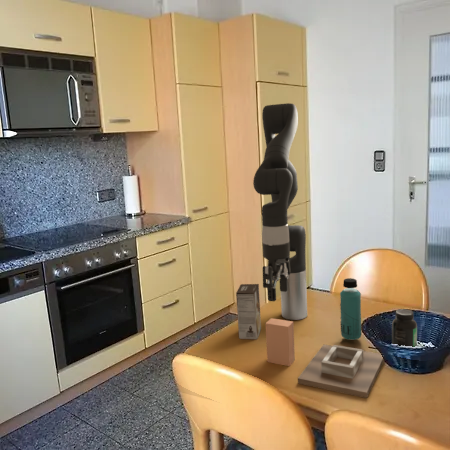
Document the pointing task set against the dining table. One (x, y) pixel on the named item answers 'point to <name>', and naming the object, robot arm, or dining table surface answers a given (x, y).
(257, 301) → the coffee box
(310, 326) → the dining table surface
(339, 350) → the keyed holder
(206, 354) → the dining table surface
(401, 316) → the supplement bottle
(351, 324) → the beverage bottle
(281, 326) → the keyed peg
